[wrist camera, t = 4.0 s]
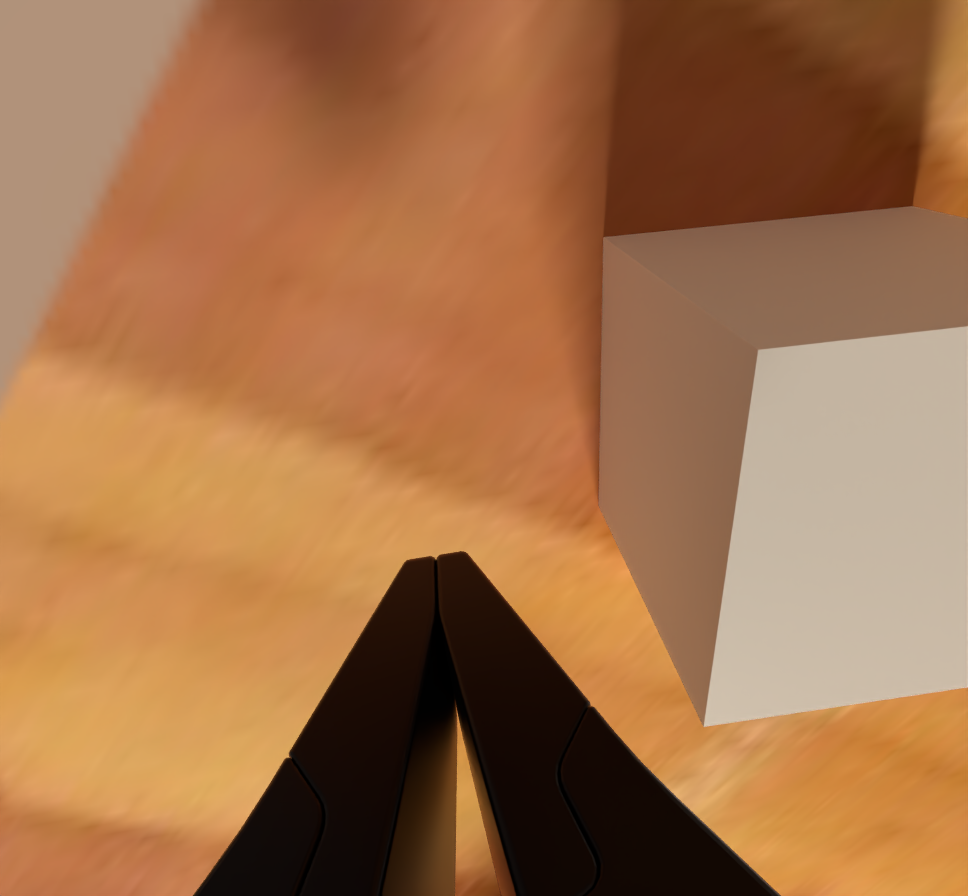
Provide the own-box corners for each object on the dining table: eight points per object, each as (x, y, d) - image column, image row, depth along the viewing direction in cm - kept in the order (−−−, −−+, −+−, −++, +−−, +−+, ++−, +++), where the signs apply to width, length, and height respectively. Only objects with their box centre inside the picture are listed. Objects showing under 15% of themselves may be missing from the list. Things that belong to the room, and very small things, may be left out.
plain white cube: (908, 204, 12) (1288, 288, 7) (845, 471, 15) (1080, 671, 10) (599, 235, 12) (759, 351, 7) (596, 504, 15) (704, 729, 10)
